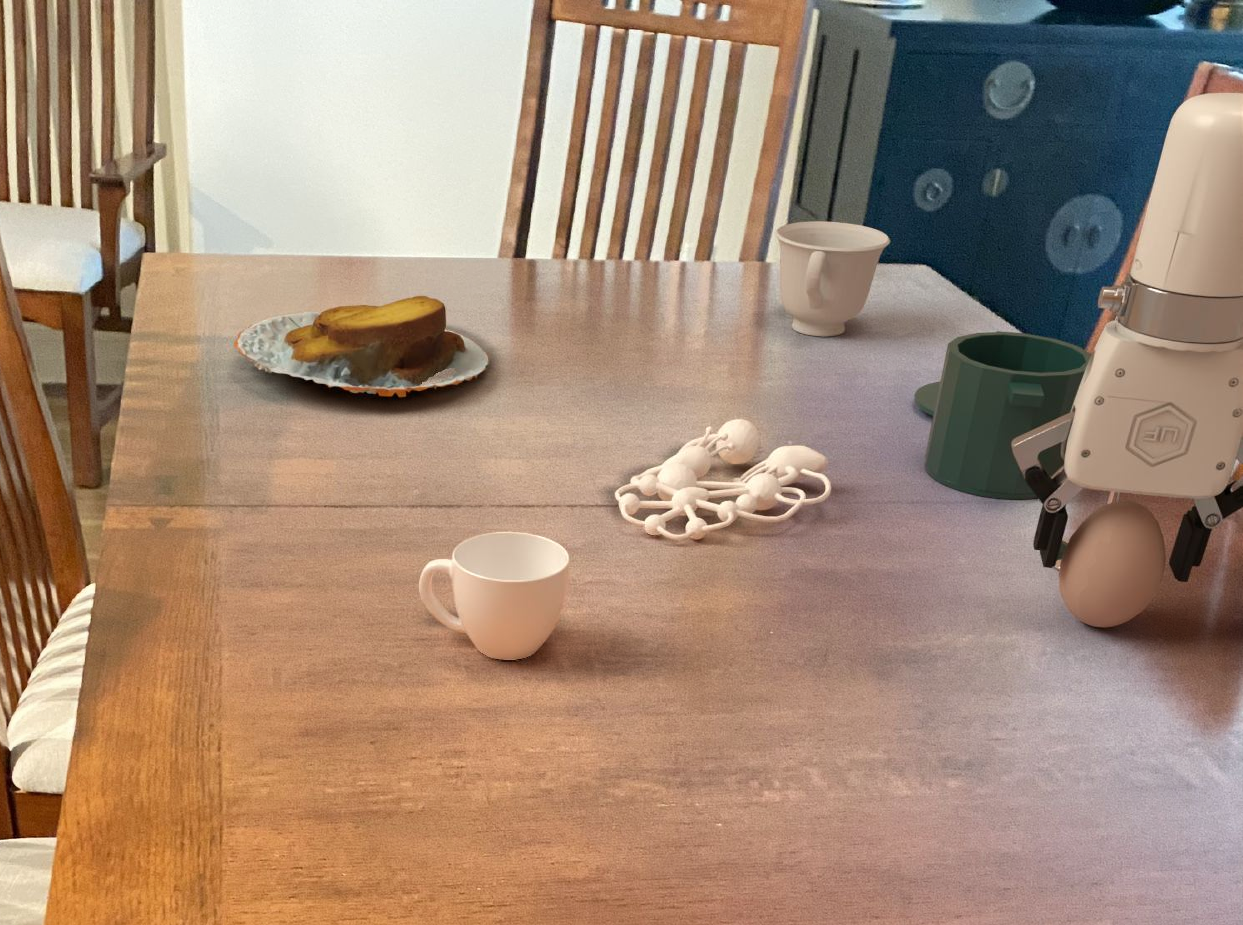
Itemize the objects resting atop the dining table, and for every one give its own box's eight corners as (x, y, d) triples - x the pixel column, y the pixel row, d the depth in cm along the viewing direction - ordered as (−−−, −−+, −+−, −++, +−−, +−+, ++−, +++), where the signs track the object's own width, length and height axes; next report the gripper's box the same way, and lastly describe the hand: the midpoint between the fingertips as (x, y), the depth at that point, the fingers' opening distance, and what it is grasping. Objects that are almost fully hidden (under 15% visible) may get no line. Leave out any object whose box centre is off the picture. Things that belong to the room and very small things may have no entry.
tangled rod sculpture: (706, 580, 114) (715, 532, 112) (570, 508, 122) (575, 462, 120) (856, 508, 125) (867, 462, 122) (721, 446, 133) (729, 402, 130)
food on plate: (278, 326, 163) (276, 264, 159) (505, 343, 159) (508, 280, 156) (204, 402, 142) (199, 332, 138) (463, 424, 138) (465, 353, 135)
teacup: (745, 344, 160) (757, 247, 154) (775, 308, 172) (787, 216, 166) (859, 359, 156) (876, 260, 151) (882, 321, 168) (898, 228, 162)
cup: (555, 679, 99) (561, 586, 95) (407, 663, 100) (407, 571, 96) (570, 626, 105) (576, 537, 101) (430, 612, 106) (431, 523, 103)
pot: (1052, 445, 136) (1082, 329, 130) (1075, 518, 122) (1108, 391, 116) (920, 433, 138) (943, 318, 132) (928, 503, 124) (954, 378, 119)
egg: (1165, 630, 106) (1203, 509, 101) (1105, 654, 103) (1141, 530, 98) (1086, 595, 110) (1119, 477, 105) (1026, 616, 107) (1057, 496, 102)
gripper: (1046, 317, 93) (984, 575, 103) (1350, 340, 90) (1257, 604, 100) (1034, 285, 99) (977, 532, 109) (1319, 306, 96) (1234, 558, 106)
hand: (1111, 565), depth 104 cm, fingers open, 8 cm apart
